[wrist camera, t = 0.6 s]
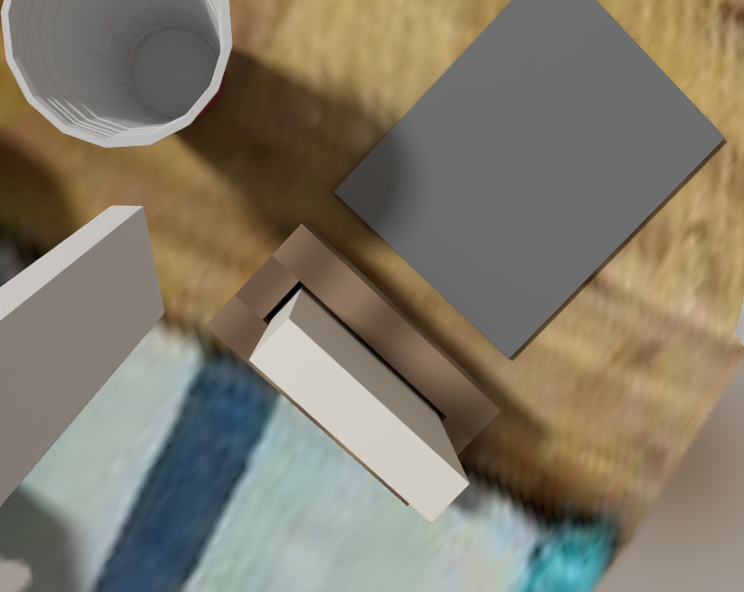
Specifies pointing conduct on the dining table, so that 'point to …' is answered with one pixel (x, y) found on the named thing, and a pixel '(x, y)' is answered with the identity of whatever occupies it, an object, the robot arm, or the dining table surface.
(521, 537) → the dining table surface
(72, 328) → the robot arm
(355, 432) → the rectangular insert block
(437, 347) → the slot box
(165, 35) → the plastic cup
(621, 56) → the rubber mat
